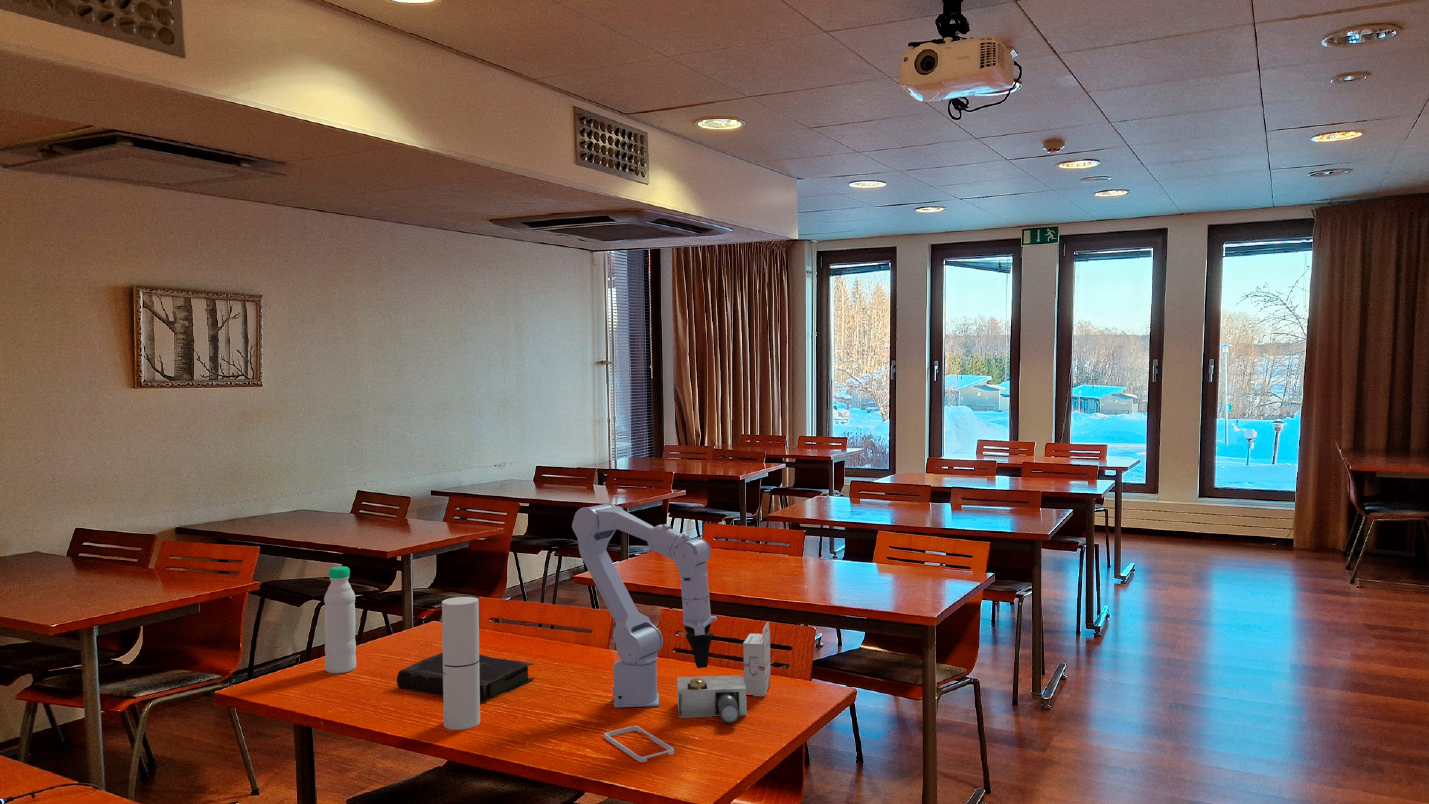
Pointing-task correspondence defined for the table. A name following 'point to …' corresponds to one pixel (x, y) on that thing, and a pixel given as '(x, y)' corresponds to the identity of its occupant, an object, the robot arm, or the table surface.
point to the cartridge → (727, 706)
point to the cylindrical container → (461, 662)
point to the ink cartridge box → (757, 662)
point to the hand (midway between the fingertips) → (701, 662)
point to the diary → (492, 676)
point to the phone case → (631, 753)
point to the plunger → (697, 684)
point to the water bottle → (339, 623)
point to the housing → (709, 695)
